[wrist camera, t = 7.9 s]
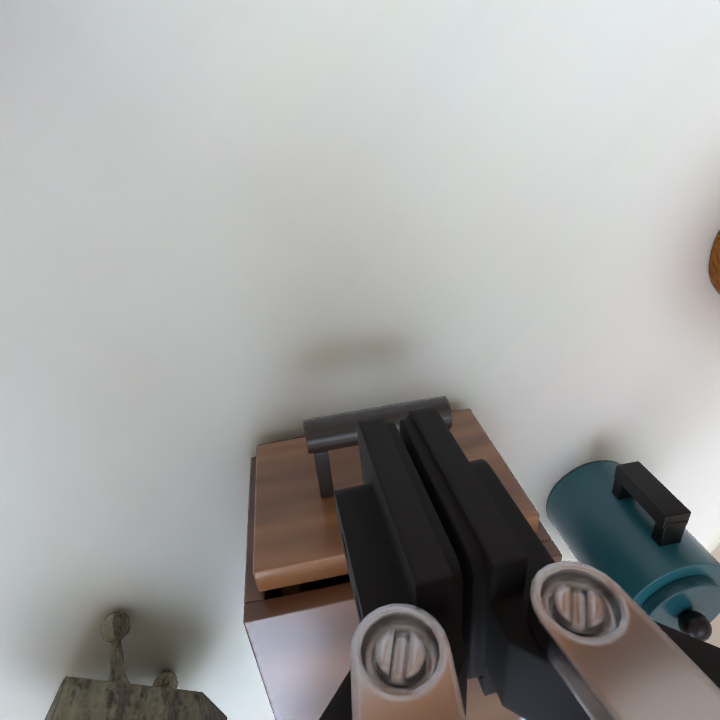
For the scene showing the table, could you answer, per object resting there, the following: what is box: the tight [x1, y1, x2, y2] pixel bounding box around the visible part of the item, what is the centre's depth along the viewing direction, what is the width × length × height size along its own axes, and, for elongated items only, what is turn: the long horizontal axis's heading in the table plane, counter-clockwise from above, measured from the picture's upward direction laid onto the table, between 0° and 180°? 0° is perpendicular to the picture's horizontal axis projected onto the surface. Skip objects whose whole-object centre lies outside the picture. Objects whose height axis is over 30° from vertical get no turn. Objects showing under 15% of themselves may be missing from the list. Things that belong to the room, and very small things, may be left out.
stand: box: [243, 457, 562, 720], centre depth 26 cm, size 14×13×10 cm
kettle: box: [547, 461, 720, 641], centre depth 28 cm, size 11×6×10 cm, turn 6°
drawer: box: [253, 396, 539, 596], centre depth 24 cm, size 17×11×8 cm
